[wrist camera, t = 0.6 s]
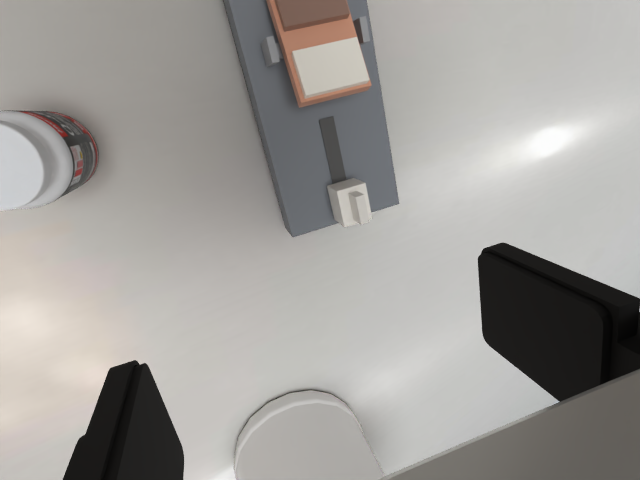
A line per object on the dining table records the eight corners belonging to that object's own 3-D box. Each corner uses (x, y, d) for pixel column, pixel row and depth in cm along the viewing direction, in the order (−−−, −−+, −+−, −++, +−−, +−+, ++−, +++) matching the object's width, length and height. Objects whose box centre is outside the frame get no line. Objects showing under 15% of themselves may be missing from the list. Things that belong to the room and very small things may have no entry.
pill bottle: (97, 115, 30) (52, 116, 21) (101, 191, 31) (61, 222, 22) (6, 107, 28) (-87, 103, 19) (15, 187, 30) (-67, 219, 20)
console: (189, -124, 27) (187, -179, 22) (328, -142, 29) (356, -196, 24) (285, 228, 36) (299, 246, 31) (386, 196, 38) (415, 209, 33)
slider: (326, 185, 33) (343, 195, 29) (353, 177, 33) (373, 186, 29) (334, 219, 34) (351, 233, 30) (360, 211, 34) (380, 223, 30)
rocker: (264, -6, 27) (265, -21, 26) (334, -20, 28) (340, -35, 27) (299, 107, 28) (302, 99, 26) (367, 90, 29) (374, 81, 27)
